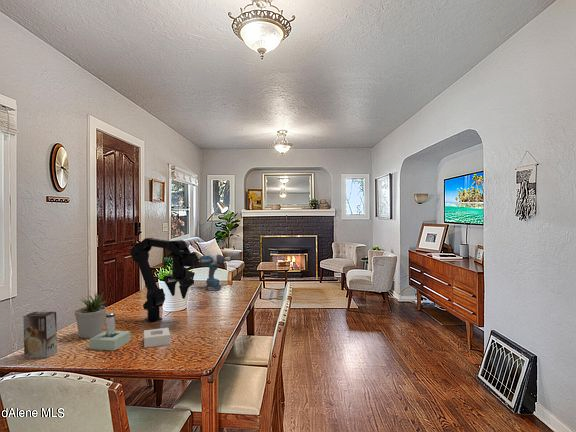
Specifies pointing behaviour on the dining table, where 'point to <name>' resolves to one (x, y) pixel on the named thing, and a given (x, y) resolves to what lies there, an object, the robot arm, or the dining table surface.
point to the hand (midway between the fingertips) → (178, 297)
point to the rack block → (109, 340)
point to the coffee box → (40, 334)
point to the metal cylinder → (110, 324)
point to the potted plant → (90, 317)
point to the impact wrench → (213, 269)
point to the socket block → (156, 337)
